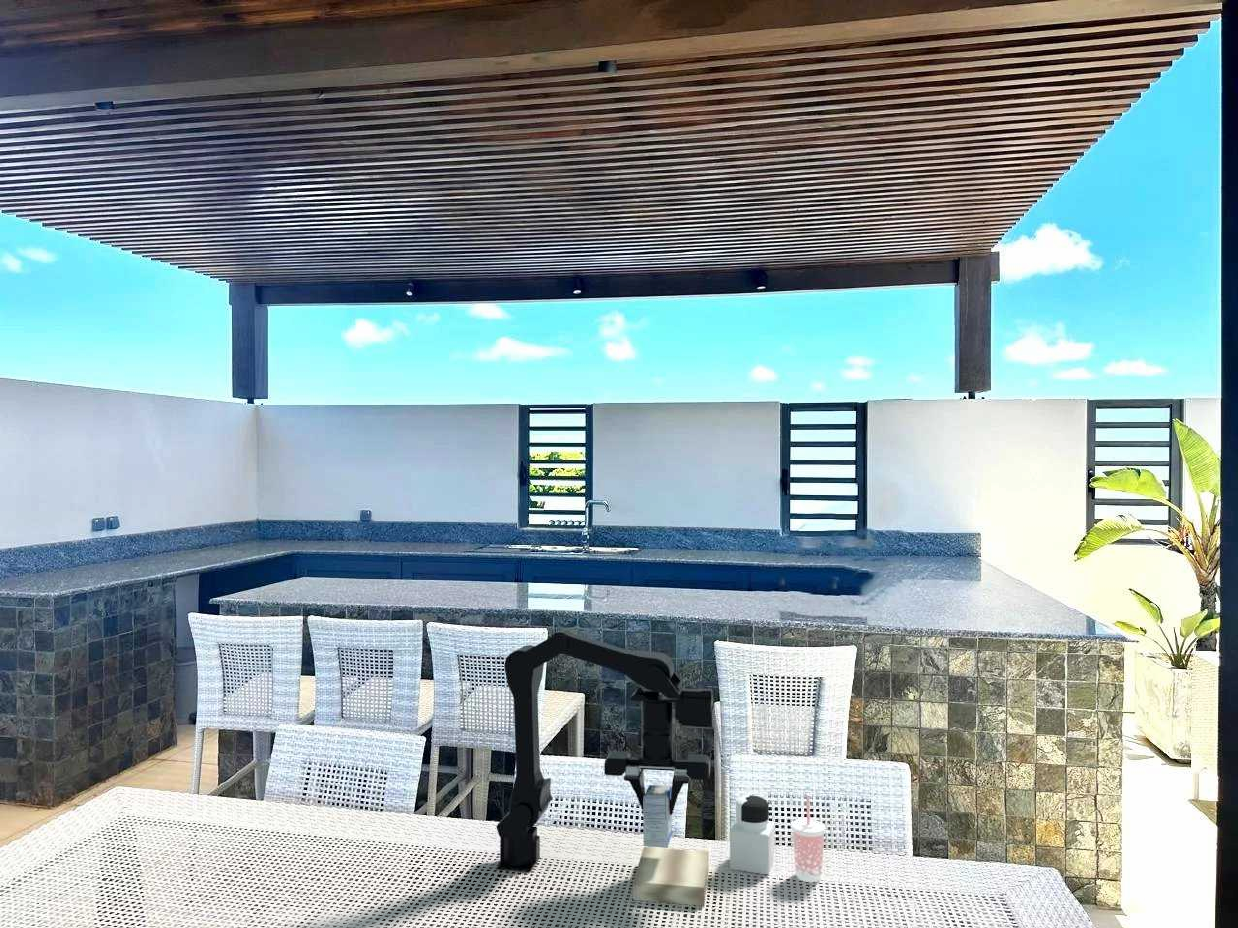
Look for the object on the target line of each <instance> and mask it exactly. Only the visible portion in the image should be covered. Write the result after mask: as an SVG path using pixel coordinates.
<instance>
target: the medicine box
mask: <svg viewBox="0 0 1238 928" xmlns="http://www.w3.org/2000/svg"><path fill="white" fill-rule="evenodd" d="M671 790H672V785H667V784H648V787H647V788H646V790H645V795H644V799H643V811H642V813H643V817H642V818H643V821H642V823H643V825H642V826H643V827H642V828H643V829H642V830H643V838H642V839H643V847H652V848H666V849H668V848H669V844H670V841H671V836H672V833H673V829H672V828H673V826H672V825H673V823H672V821H673V819H672V818H673V814H672V815H670V799H671Z"/></svg>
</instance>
